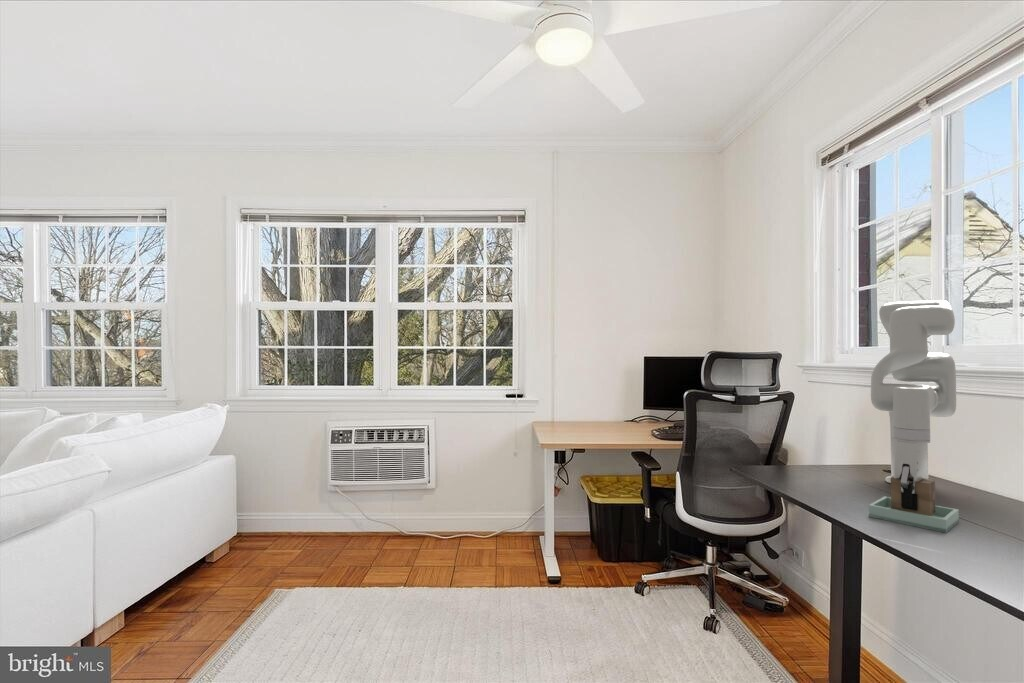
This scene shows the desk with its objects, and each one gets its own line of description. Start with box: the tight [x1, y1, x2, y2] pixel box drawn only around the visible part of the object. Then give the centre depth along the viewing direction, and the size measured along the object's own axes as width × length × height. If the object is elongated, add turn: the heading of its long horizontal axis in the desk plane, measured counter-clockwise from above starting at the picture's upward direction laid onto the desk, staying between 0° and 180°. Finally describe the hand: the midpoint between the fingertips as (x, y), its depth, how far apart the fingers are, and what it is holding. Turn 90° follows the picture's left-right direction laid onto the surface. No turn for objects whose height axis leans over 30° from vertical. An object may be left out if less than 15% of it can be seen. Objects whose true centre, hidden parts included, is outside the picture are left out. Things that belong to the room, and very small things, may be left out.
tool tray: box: [868, 495, 960, 534], centre depth 132 cm, size 13×16×3 cm
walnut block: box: [890, 476, 937, 516], centre depth 132 cm, size 5×8×8 cm, turn 39°
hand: (912, 506), depth 132 cm, fingers closed on walnut block, 4 cm apart
